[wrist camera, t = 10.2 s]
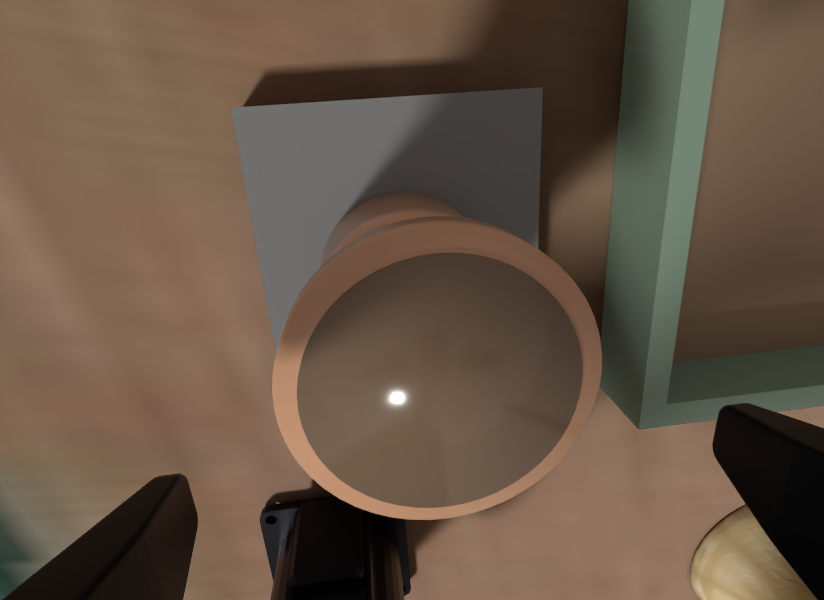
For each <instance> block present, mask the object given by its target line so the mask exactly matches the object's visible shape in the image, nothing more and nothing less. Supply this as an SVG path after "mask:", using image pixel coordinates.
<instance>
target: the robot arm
mask: <svg viewBox="0 0 824 600" xmlns="http://www.w3.org/2000/svg"><path fill="white" fill-rule="evenodd" d="M713 452H714V455H715V457H716V459H717V461H718V463H719V464H720V466H721V467H722V469H723V470H724V472H725V473H726V475H727V476H728V478H729V479H730V481H731V482H732V484H733V485H734V487H735V488H736V490H737V491H738V493H739V494H740V496H741V497H742V499H743V500H744V502H745V503H746V505H747V507H748V508H749V510H750V511H751V513H752V514H753V516H754V517H755V519H756V520H757V522H758V523H759V525H760V526H761V528H762V529H763V530H764V532H765V533H766V535H767V536H768V538H769V539H770V541H771V542H772V543H773V544H774V546H775V547H776V548H777V550H778V551H779V552H780V554H781V555H782V556H783V558H784V559H785V560H786V561H787V563H788V564H789V565H790V566H791V568H792V569H793V570H794V571H795V573H796V574H797V575H798V576H799V578H800V579H801V580H802V581H803V583H804V584H805V585H806V587H807V588H808V589H809V590H810V592H811V593H812V594H813V595H814V597H815V598H816V599H817V600H824V428H821V427H818V426H815V425H812V424H809V423H806V422H803V421H800V420H797V419H794V418H791V417H788V416H785V415H782V414H780V413H777V412H774V411H771V410H768V409H765V408H762V407H759V406H756V405H753V404H750V403H739V404H731V405H725V406H723V407H722V408H721V409H720V411H719V413H718V418H717V423H716V428H715V434H714V439H713ZM268 516H274V518H270V517H268ZM260 524H261V529H262V533H263V538H264V542H265V546H266V551H267V555H268V559H269V564H270V568H271V573H272V577H273V581H274V583H273V589H272V595H271V600H404V596H405V595H407V594H408V593H409V592H410V590H411V585H410V574H409V563H408V551H407V540H406V529H405V519H401V518H392V517H388V516H383V515H379V514H375V513H372V512H369V511H366V510H363V509H360V508H358V507H355V506H353V505H351V504H349V503H347V502H345V501H343V500H341V499H339V498H337V497H336V496H335V497H327V498H320V499H312V500H305V501H297V502H290V503H282V504H274V505H269V506H266V507H265V508H263V510H262V512H261V516H260ZM197 526H198V516H197V511H196V507H195V504H194V501H193V497H192V494H191V490H190V487H189V483H188V480H187V478H186V477H185V476H184V475H183V474H171V475H163V476H158V477H155V478H154V479H152V480H151V481H150V482H148V483H147V484H146V485H145V486H143V487H142V488H141V489H140V490H138V491H137V492H136V493H135V494H133V495H132V496H131V497H130V498H128V499H127V500H126V501H125V502H123V503H122V504H121V505H120V506H118V507H117V508H116V509H115V510H113V511H112V512H111V513H110V514H108V515H107V516H106V517H105V518H103V519H102V520H101V521H100V522H98V523H97V524H96V525H95V526H93V527H92V528H91V529H90V530H88V531H87V532H86V533H85V534H83V535H82V536H81V537H80V538H78V539H77V540H76V541H75V542H73V543H72V544H71V545H70V546H68V547H67V548H66V549H65V550H63V551H62V552H61V553H60V554H58V555H57V556H56V557H55V558H53V559H52V560H51V561H50V562H48V563H47V564H46V565H45V566H43V567H42V568H41V569H40V570H38V571H37V572H36V573H35V574H33V575H32V576H31V577H30V578H28V579H27V580H26V581H25V582H23V583H22V584H21V585H20V586H18V587H17V588H16V589H15V590H13V591H12V592H11V593H10V594H8V595H7V596H6V597H5V598H3V599H2V600H183V597H184V592H185V587H186V582H187V577H188V572H189V567H190V562H191V557H192V552H193V547H194V542H195V537H196V532H197Z"/></svg>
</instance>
